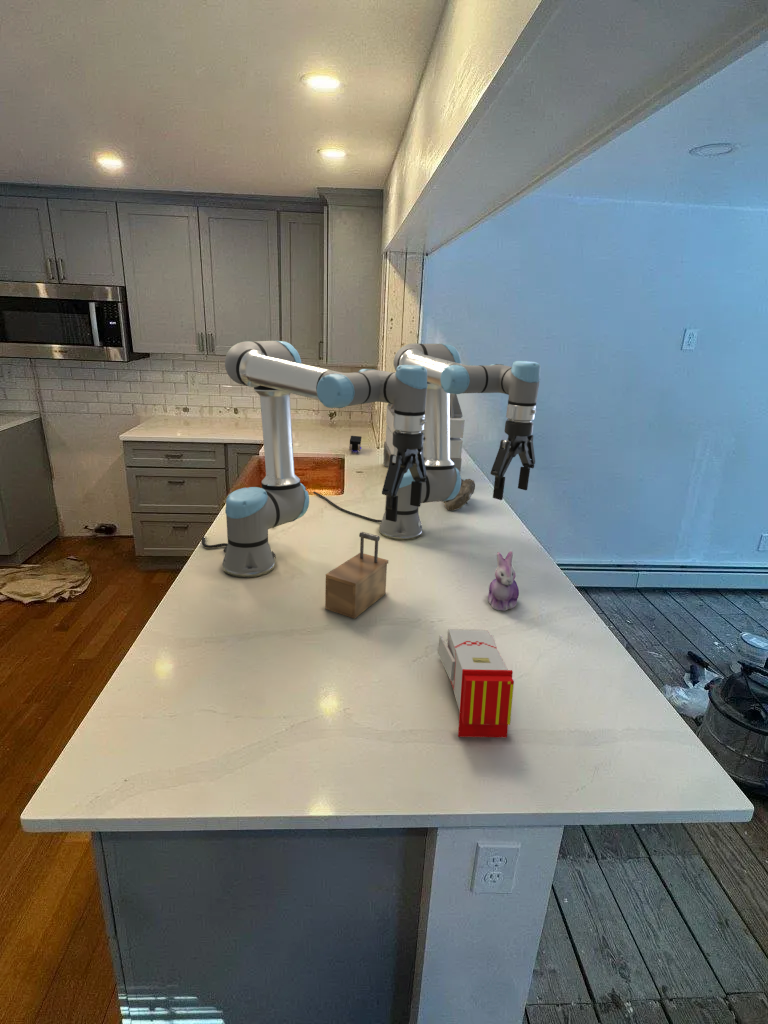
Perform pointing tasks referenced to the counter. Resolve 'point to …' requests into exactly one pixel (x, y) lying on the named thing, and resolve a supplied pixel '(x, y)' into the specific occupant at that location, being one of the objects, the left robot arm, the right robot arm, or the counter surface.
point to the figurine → (503, 584)
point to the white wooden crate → (455, 433)
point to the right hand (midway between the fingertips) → (510, 493)
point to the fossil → (461, 495)
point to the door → (359, 564)
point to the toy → (478, 682)
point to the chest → (355, 594)
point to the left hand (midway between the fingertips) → (403, 512)
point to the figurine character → (355, 444)
